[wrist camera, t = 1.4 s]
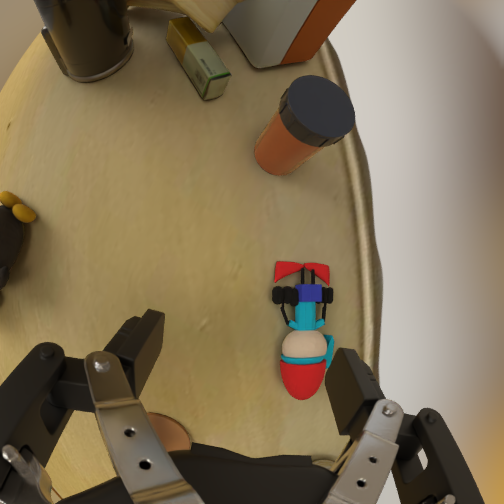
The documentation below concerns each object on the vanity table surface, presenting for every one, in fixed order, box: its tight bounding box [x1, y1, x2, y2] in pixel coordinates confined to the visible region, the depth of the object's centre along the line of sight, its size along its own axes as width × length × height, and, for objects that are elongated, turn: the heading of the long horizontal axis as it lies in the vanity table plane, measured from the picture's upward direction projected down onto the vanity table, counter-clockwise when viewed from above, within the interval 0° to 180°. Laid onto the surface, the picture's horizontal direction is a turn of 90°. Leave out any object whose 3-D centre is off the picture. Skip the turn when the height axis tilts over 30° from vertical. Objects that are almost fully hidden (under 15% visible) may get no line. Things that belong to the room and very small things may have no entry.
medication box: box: [166, 17, 231, 100], centre depth 25 cm, size 12×3×4 cm, turn 30°
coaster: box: [147, 413, 190, 452], centre depth 25 cm, size 8×8×1 cm
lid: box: [279, 75, 355, 148], centre depth 19 cm, size 6×6×2 cm
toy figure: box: [272, 261, 334, 400], centre depth 28 cm, size 8×5×15 cm
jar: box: [254, 108, 324, 176], centre depth 24 cm, size 5×5×11 cm
